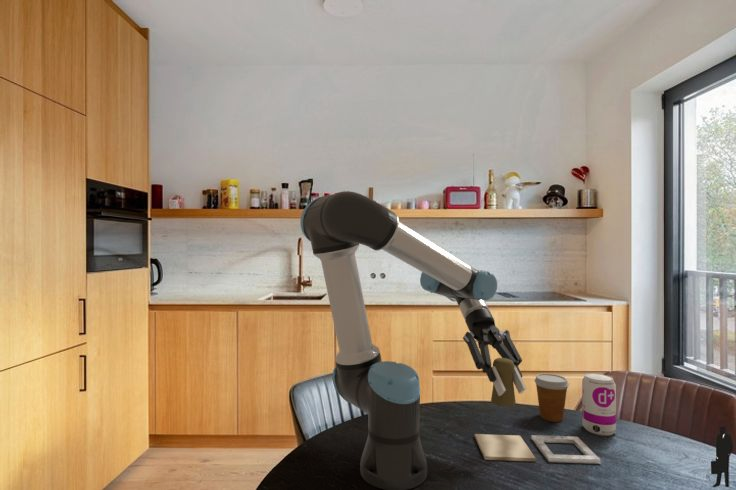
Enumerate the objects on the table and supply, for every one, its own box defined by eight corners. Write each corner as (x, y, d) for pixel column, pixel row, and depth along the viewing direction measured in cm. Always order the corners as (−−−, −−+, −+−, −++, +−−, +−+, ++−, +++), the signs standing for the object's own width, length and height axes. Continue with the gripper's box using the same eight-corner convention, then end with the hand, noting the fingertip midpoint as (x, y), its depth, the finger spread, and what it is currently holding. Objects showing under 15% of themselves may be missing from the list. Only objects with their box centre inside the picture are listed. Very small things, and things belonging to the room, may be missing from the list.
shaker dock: (548, 462, 97) (548, 457, 97) (531, 438, 109) (531, 435, 109) (600, 463, 96) (600, 459, 96) (577, 440, 108) (577, 436, 108)
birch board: (484, 459, 97) (484, 456, 97) (474, 437, 109) (474, 434, 109) (535, 461, 97) (535, 458, 97) (519, 438, 109) (520, 435, 109)
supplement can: (620, 438, 109) (620, 382, 110) (587, 435, 111) (587, 380, 111) (609, 425, 117) (609, 373, 118) (578, 422, 119) (578, 371, 119)
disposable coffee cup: (528, 412, 127) (528, 373, 127) (555, 410, 128) (555, 372, 129) (547, 425, 117) (546, 383, 118) (576, 422, 119) (576, 381, 119)
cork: (486, 401, 104) (486, 358, 104) (499, 396, 108) (499, 354, 108) (507, 408, 99) (507, 363, 99) (520, 402, 103) (520, 359, 103)
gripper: (499, 321, 121) (536, 395, 105) (443, 324, 116) (474, 402, 100) (510, 306, 116) (551, 381, 100) (452, 307, 111) (486, 387, 95)
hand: (512, 391), depth 100 cm, fingers closed on cork, 5 cm apart
